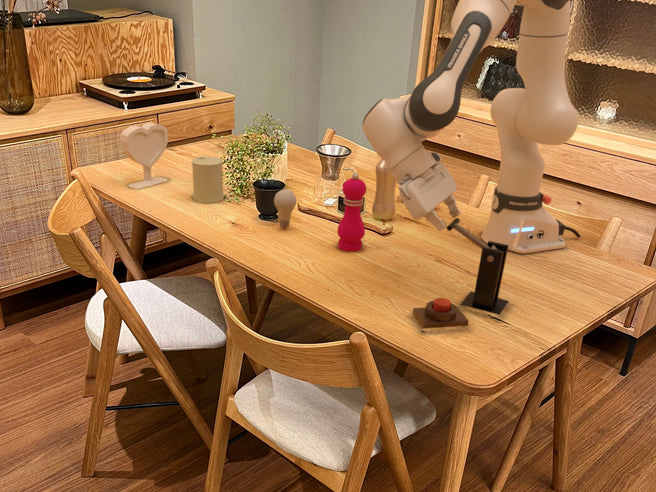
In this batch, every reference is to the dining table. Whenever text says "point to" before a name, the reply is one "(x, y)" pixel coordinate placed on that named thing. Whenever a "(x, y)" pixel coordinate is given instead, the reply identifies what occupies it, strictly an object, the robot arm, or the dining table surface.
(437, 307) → the button
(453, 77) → the robot arm
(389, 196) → the plastic bottle
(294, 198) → the lightbulb
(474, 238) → the switch lever
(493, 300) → the switch bracket
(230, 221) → the dining table surface
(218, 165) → the can
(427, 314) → the button box
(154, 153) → the heart sculpture
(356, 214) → the pepper mill
